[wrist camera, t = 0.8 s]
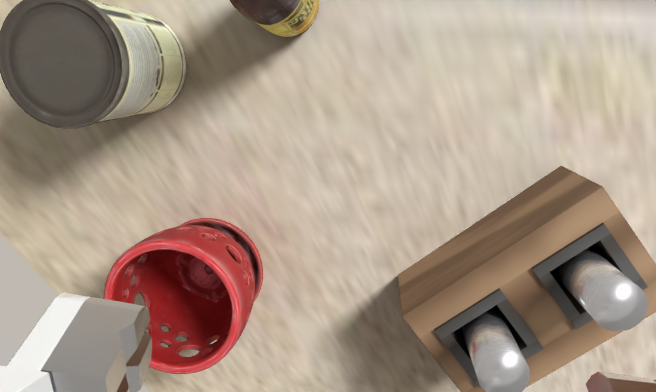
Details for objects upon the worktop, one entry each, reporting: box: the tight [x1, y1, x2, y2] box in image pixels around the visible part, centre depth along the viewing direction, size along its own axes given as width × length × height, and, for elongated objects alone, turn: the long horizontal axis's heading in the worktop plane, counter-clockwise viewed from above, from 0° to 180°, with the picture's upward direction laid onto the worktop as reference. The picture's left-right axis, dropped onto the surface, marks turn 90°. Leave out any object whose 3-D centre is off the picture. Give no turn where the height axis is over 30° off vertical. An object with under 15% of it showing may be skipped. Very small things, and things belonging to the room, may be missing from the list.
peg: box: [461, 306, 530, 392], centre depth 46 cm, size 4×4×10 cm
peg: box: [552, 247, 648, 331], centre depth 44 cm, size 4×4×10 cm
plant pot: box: [104, 218, 263, 374], centre depth 53 cm, size 13×13×12 cm
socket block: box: [398, 166, 656, 392], centre depth 51 cm, size 12×20×10 cm, turn 127°
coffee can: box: [0, 0, 186, 128], centre depth 48 cm, size 10×10×14 cm
